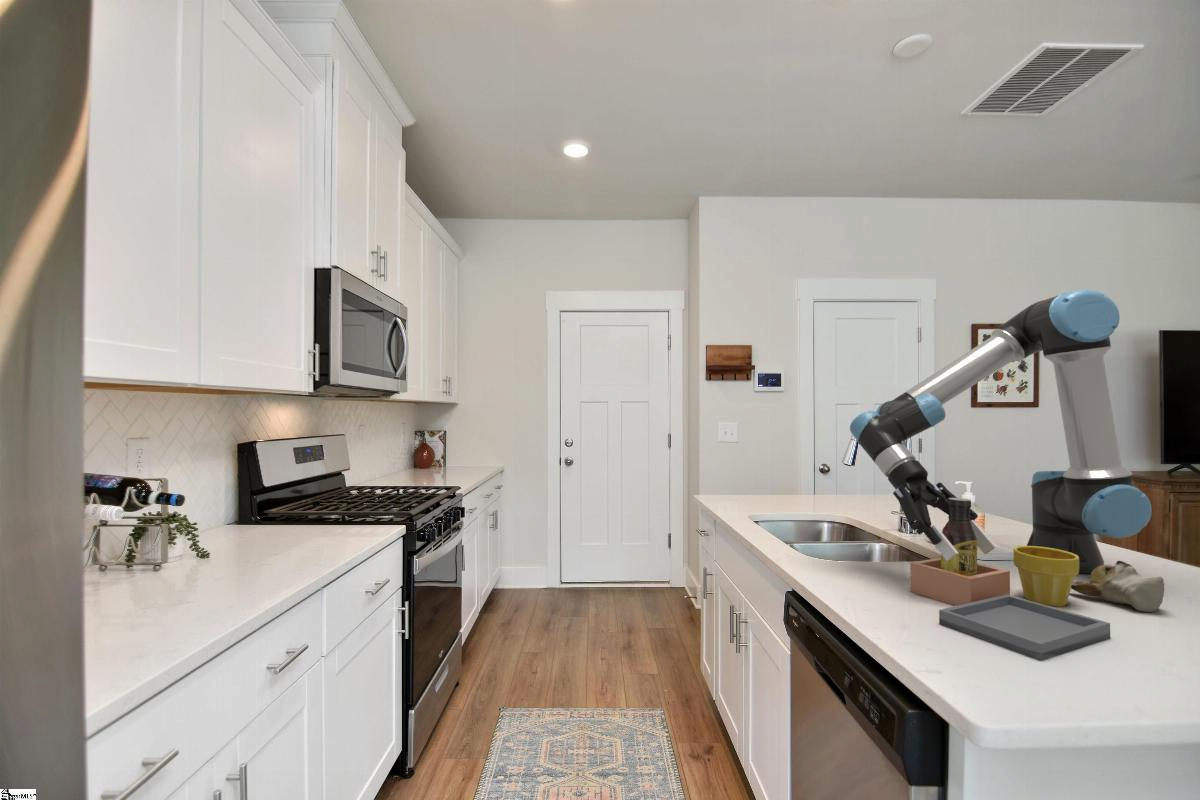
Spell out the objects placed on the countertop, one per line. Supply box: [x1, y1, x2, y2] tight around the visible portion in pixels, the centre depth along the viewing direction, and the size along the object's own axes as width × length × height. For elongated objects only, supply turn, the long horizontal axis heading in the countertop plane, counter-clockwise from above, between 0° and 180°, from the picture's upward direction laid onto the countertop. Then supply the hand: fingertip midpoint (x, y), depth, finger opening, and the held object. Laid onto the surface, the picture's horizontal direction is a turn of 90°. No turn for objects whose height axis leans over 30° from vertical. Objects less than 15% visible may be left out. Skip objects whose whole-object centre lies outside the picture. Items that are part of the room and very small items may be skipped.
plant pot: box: [1012, 545, 1080, 607], centre depth 112 cm, size 10×10×10 cm
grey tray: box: [938, 594, 1111, 661], centre depth 97 cm, size 20×16×2 cm
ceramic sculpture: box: [1071, 560, 1165, 613], centre depth 111 cm, size 11×9×15 cm
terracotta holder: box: [910, 557, 1011, 606], centre depth 115 cm, size 12×12×6 cm
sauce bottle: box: [940, 497, 978, 576], centre depth 115 cm, size 6×6×20 cm
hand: (972, 553), depth 112 cm, fingers open, 11 cm apart
